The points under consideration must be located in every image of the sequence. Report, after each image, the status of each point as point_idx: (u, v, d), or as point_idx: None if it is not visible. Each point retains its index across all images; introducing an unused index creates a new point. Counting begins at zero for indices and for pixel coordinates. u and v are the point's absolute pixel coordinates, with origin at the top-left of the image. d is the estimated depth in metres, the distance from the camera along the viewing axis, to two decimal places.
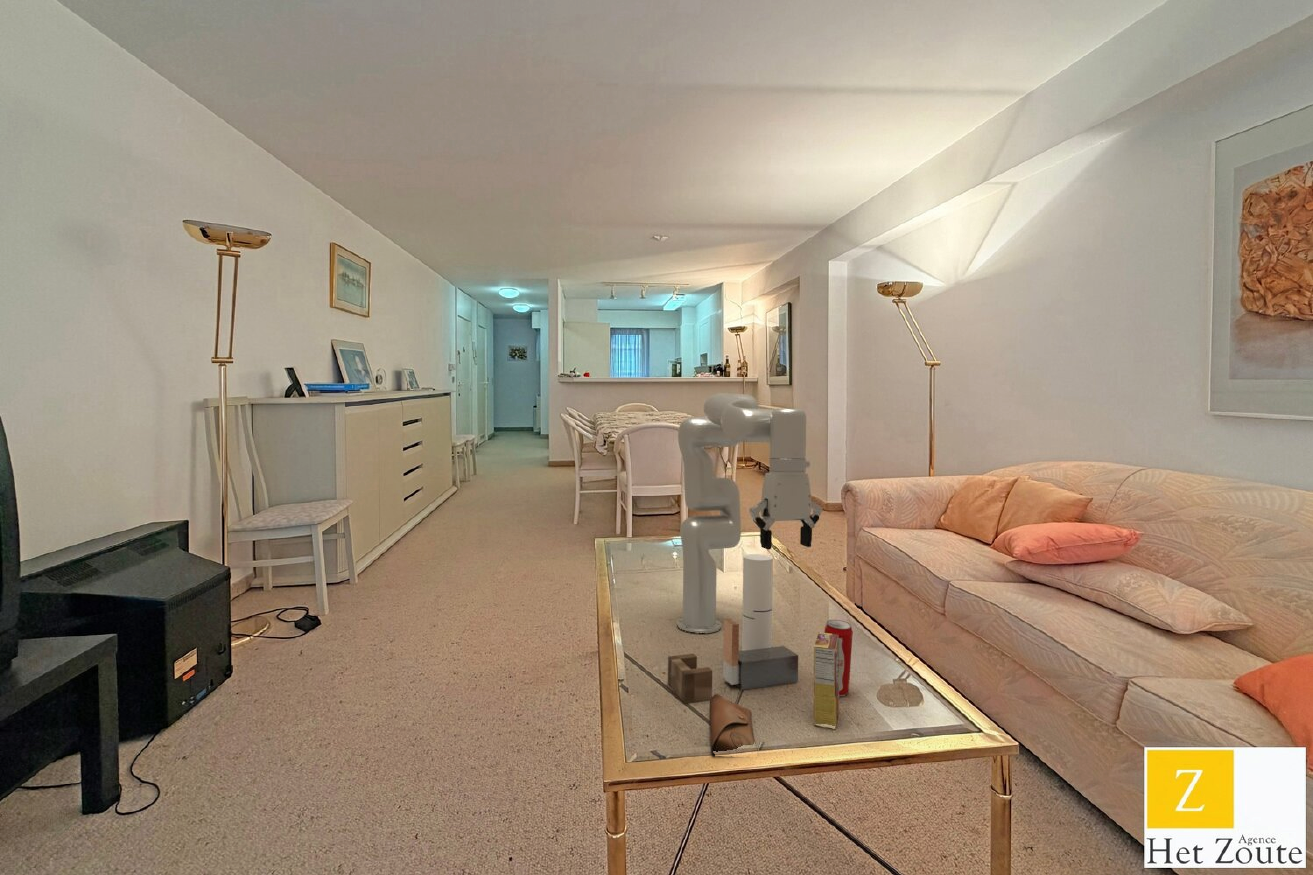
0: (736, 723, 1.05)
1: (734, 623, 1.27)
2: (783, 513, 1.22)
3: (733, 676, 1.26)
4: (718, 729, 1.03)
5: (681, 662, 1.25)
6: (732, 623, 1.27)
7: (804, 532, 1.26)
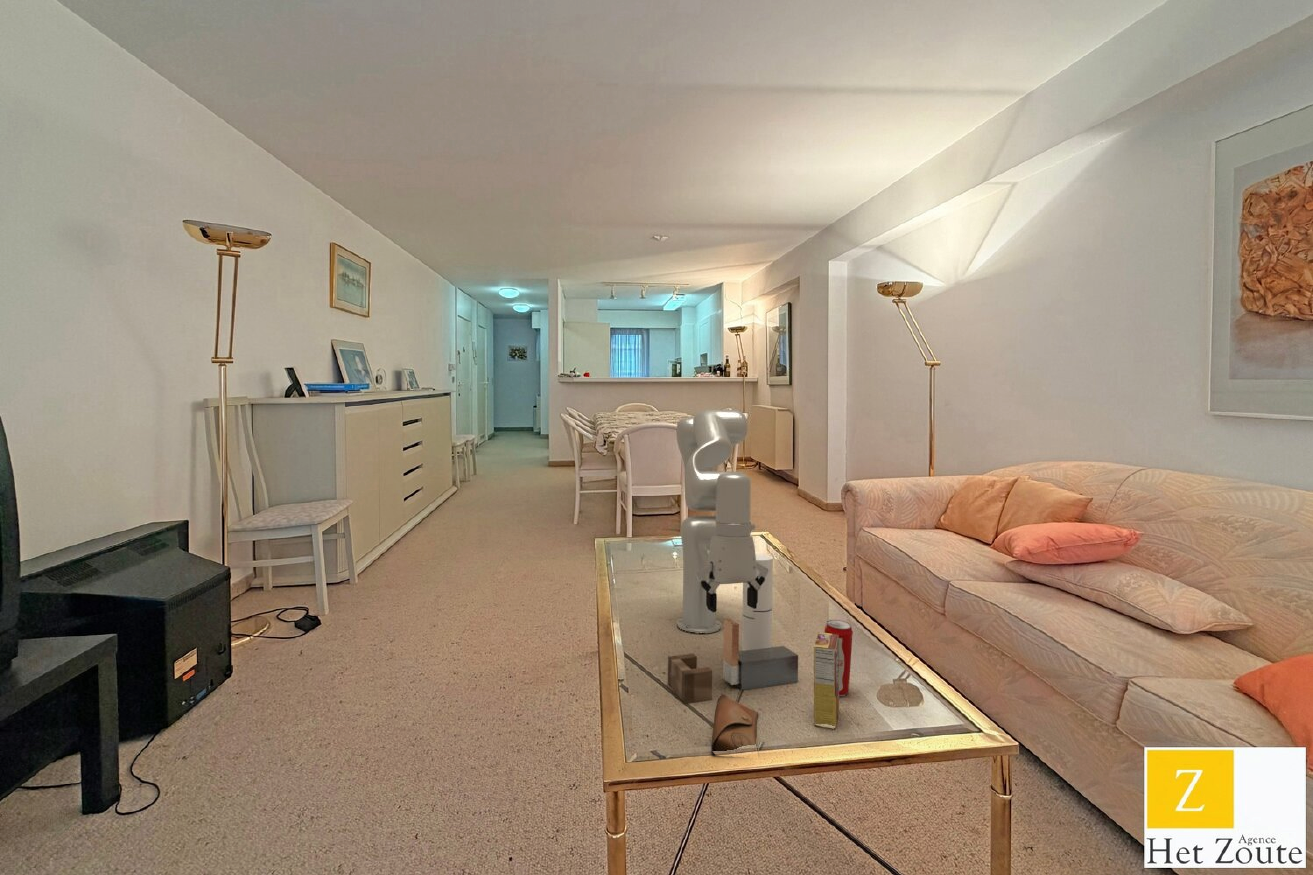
0: (739, 723, 1.05)
1: (734, 623, 1.27)
2: (727, 576, 1.25)
3: (733, 676, 1.26)
4: (719, 728, 1.03)
5: (681, 662, 1.25)
6: (732, 623, 1.27)
7: (750, 593, 1.29)
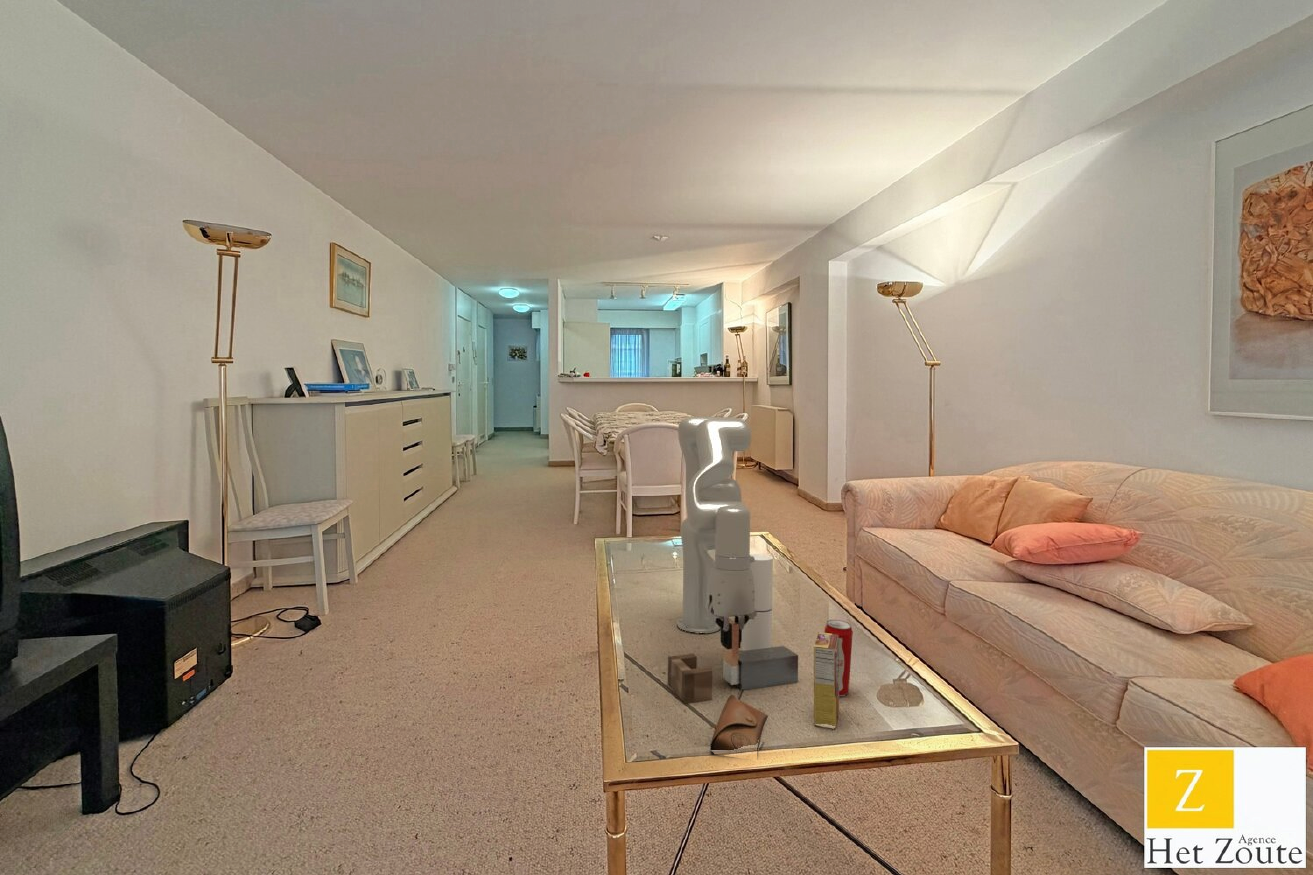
0: (741, 724, 1.05)
1: (734, 623, 1.27)
2: (726, 610, 1.25)
3: (733, 676, 1.26)
4: (720, 728, 1.03)
5: (681, 662, 1.25)
6: (732, 623, 1.27)
7: None
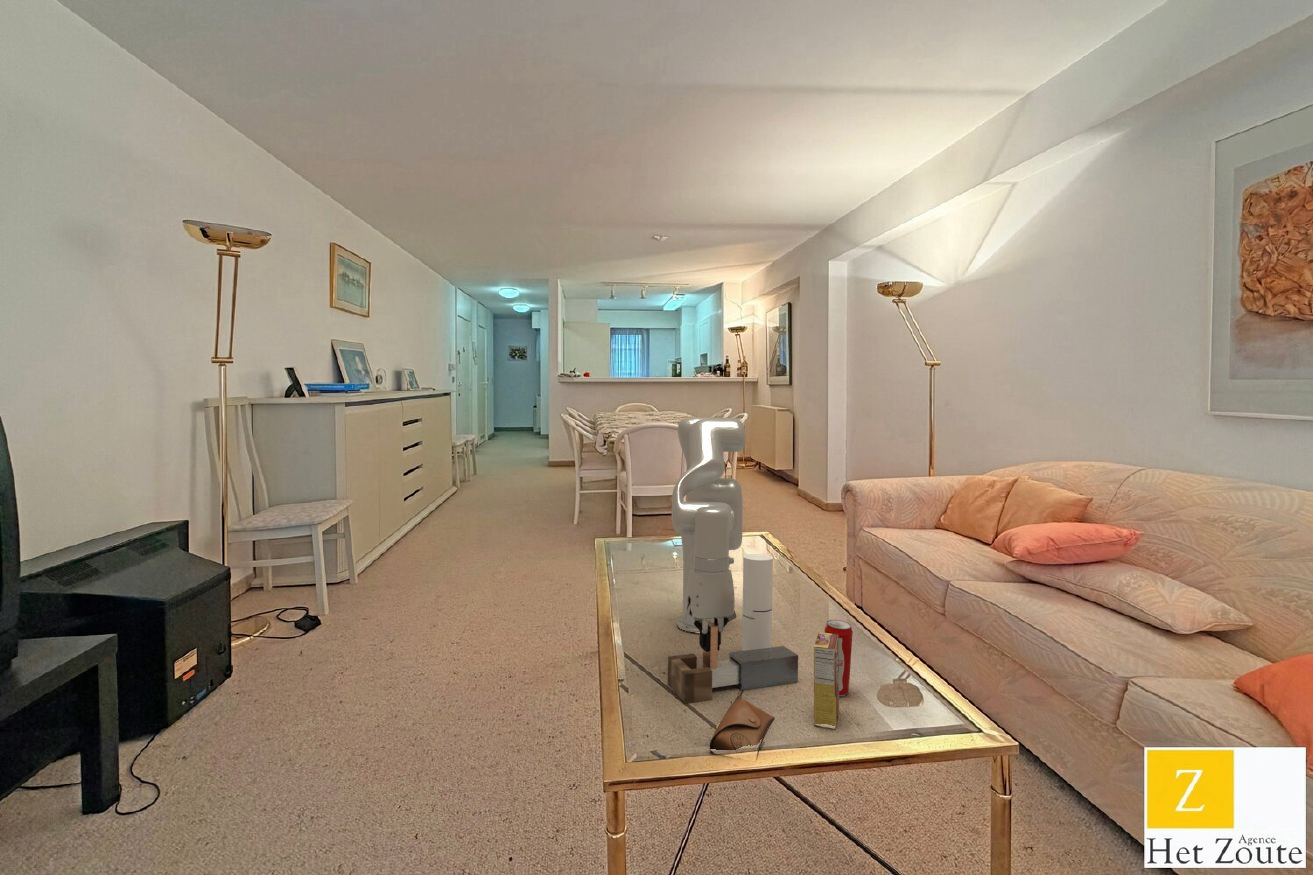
0: (743, 725, 1.05)
1: (713, 625, 1.25)
2: (705, 612, 1.24)
3: (712, 679, 1.25)
4: (720, 727, 1.03)
5: (681, 662, 1.25)
6: (711, 625, 1.25)
7: None
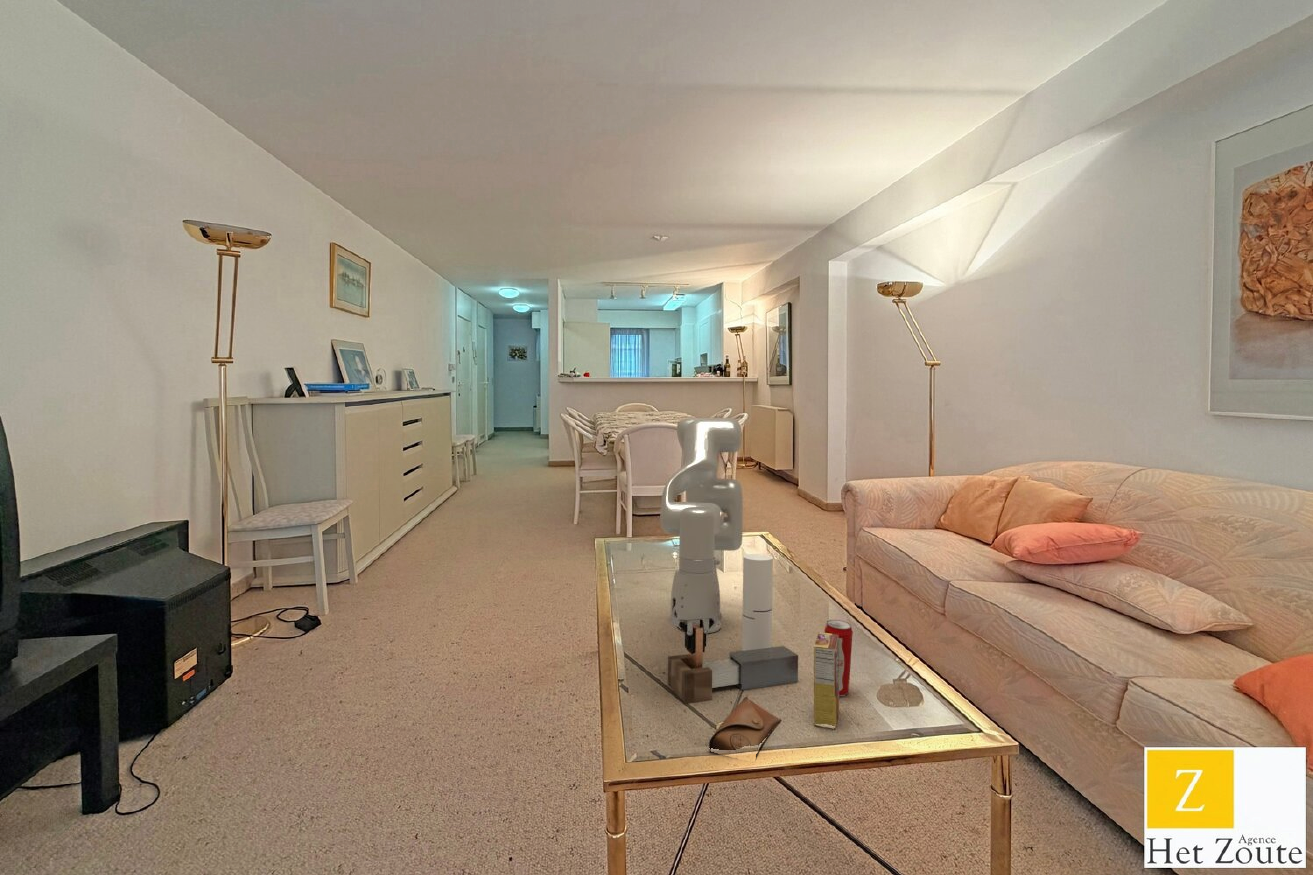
0: (744, 726, 1.04)
1: (698, 627, 1.24)
2: (690, 613, 1.23)
3: None
4: (721, 727, 1.03)
5: (681, 662, 1.25)
6: (696, 627, 1.24)
7: None
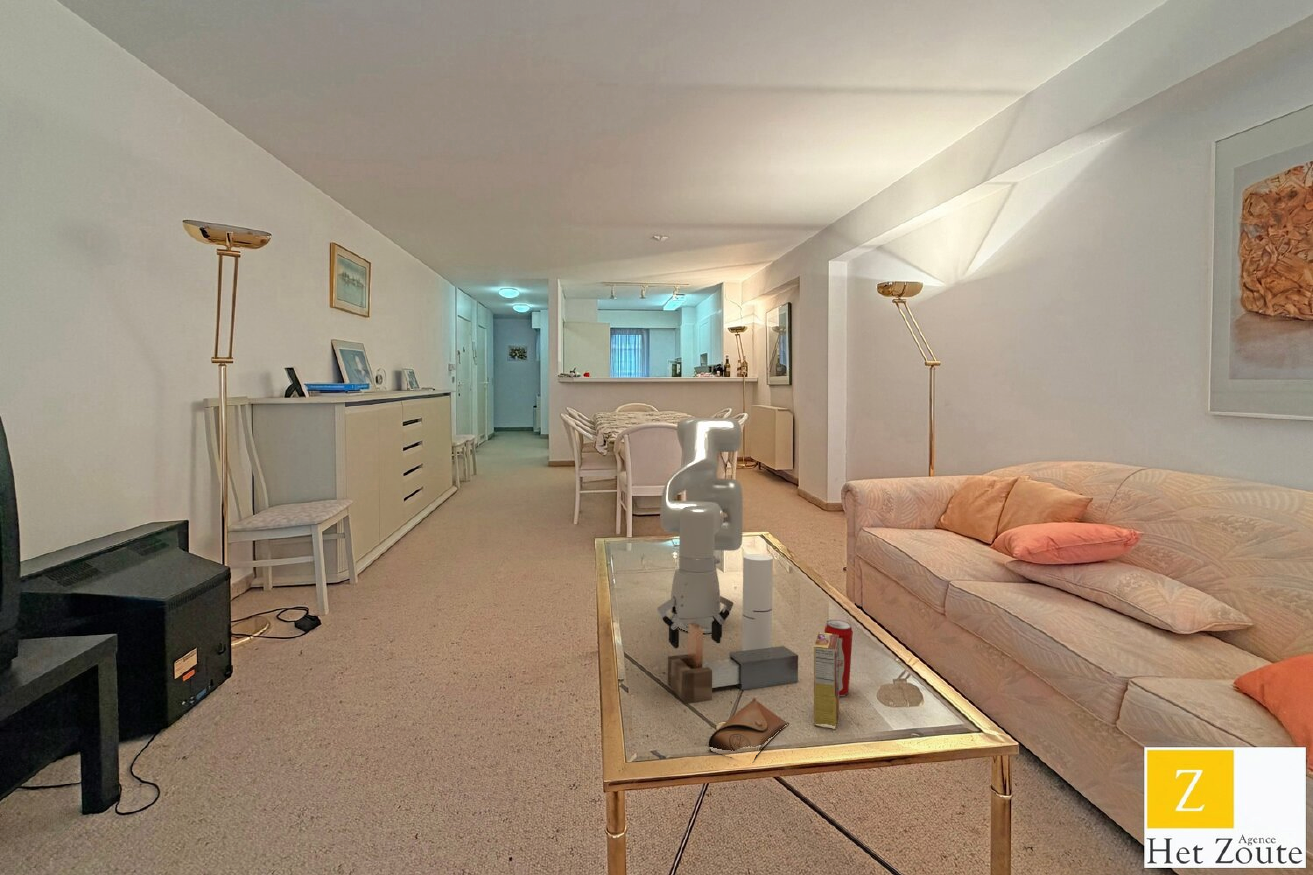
0: (746, 727, 1.04)
1: (698, 627, 1.24)
2: (690, 612, 1.23)
3: None
4: (722, 726, 1.03)
5: (681, 662, 1.25)
6: (696, 627, 1.24)
7: (714, 627, 1.27)
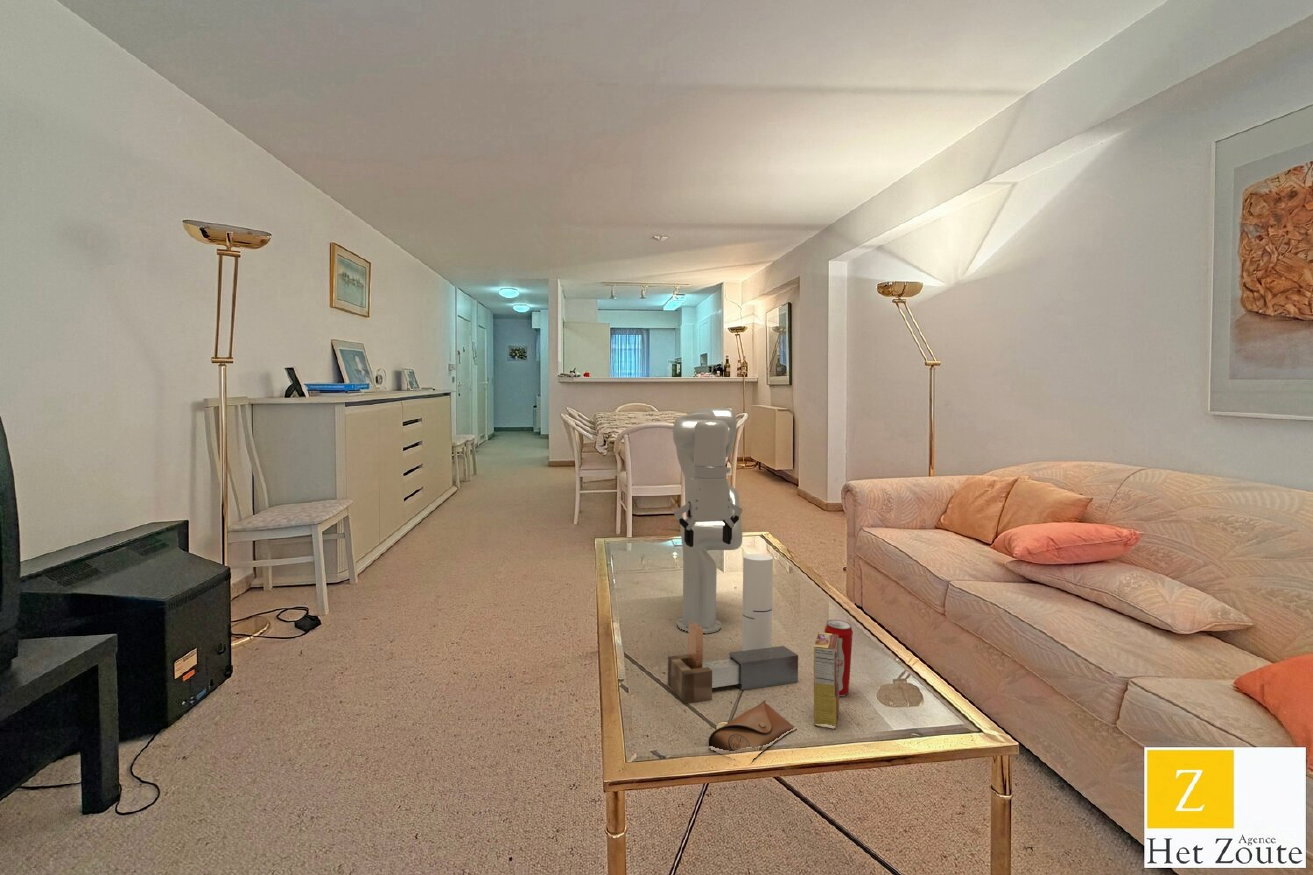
0: (748, 728, 1.04)
1: (698, 627, 1.24)
2: (703, 515, 1.37)
3: None
4: None
5: (681, 662, 1.25)
6: (696, 627, 1.24)
7: (725, 530, 1.41)
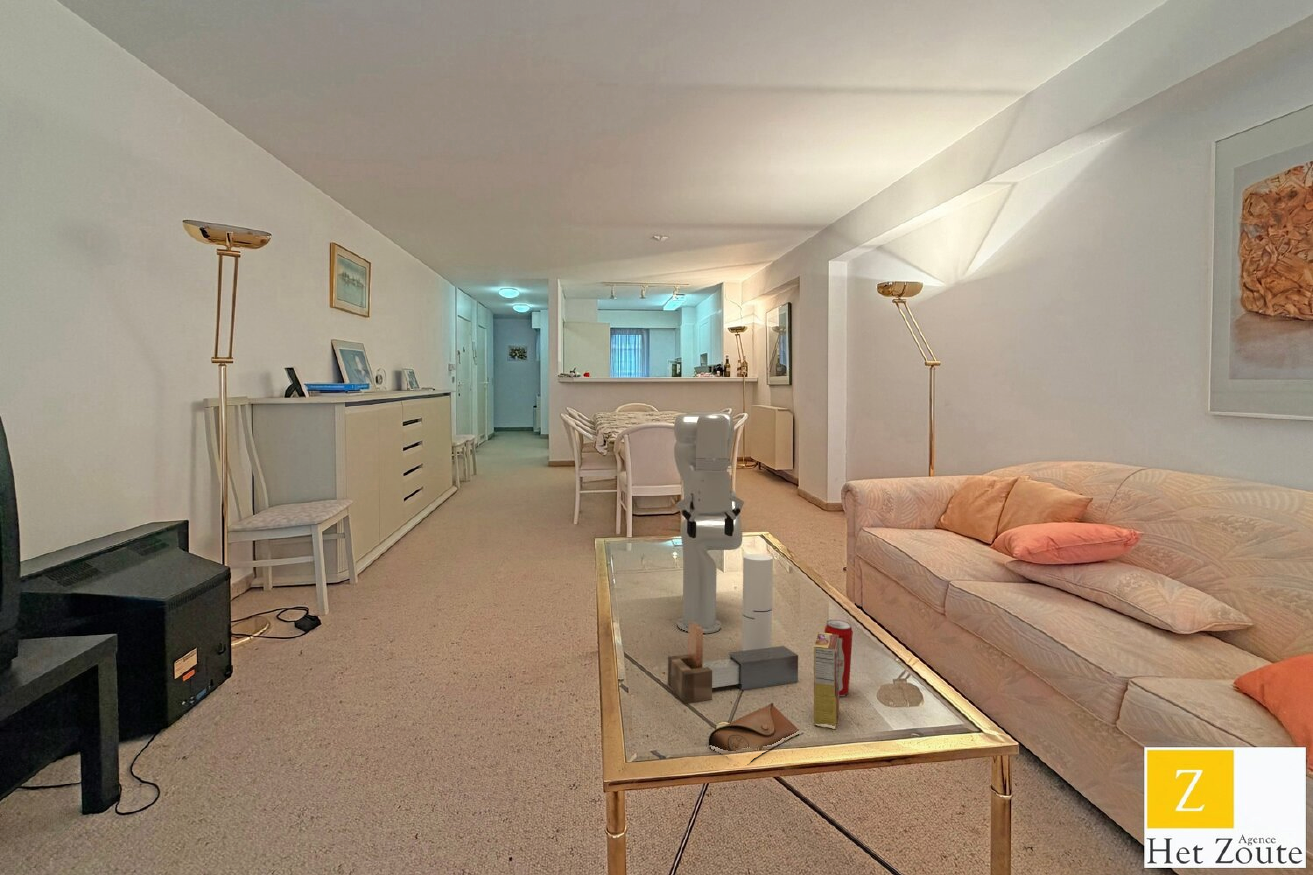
0: (749, 729, 1.03)
1: (698, 627, 1.24)
2: (706, 506, 1.39)
3: None
4: None
5: (681, 662, 1.25)
6: (696, 627, 1.24)
7: (727, 523, 1.43)
